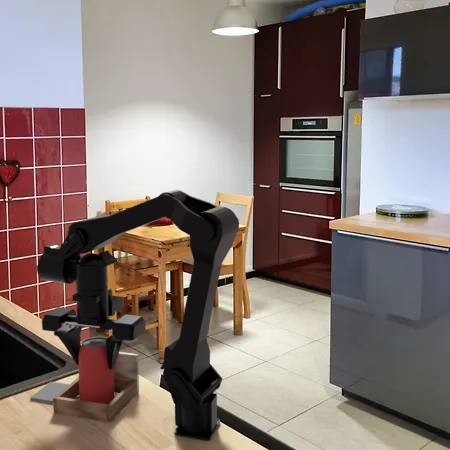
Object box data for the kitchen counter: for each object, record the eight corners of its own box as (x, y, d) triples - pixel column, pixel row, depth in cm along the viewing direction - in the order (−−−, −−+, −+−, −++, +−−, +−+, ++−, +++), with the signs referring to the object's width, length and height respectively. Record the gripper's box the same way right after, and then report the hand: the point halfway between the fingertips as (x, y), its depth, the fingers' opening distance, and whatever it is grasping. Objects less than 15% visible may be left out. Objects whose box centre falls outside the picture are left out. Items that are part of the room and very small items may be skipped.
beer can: (100, 392, 115) (100, 333, 113) (121, 402, 110) (121, 341, 109) (72, 402, 110) (71, 341, 108) (92, 413, 105) (92, 349, 104)
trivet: (79, 388, 116) (79, 385, 116) (59, 404, 109) (59, 402, 109) (51, 383, 118) (50, 381, 118) (30, 399, 111) (30, 397, 111)
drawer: (139, 392, 114) (138, 354, 113) (110, 422, 103) (109, 381, 102) (86, 384, 118) (85, 347, 116) (53, 413, 106) (51, 372, 105)
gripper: (156, 278, 111) (158, 355, 114) (70, 271, 116) (74, 344, 119) (131, 296, 100) (133, 380, 103) (37, 287, 105) (42, 367, 108)
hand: (95, 366), depth 109 cm, fingers closed on beer can, 6 cm apart
